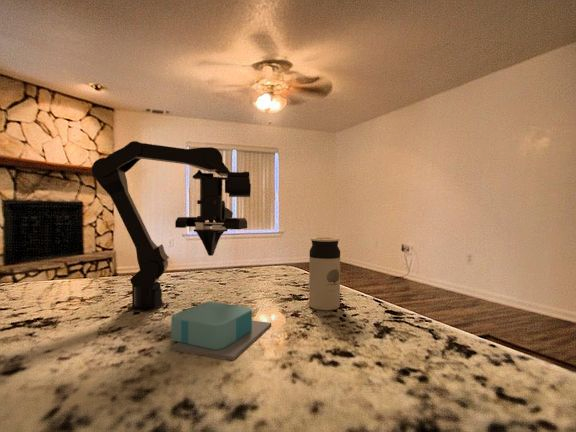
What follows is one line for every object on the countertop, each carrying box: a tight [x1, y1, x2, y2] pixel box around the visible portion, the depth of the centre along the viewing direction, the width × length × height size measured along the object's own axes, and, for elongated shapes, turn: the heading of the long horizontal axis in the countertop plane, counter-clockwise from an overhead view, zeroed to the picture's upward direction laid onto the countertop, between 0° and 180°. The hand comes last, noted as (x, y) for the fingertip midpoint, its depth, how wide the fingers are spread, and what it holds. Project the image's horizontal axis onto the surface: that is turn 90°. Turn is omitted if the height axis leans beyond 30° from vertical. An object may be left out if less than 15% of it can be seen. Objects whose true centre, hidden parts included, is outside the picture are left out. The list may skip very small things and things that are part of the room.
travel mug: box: [308, 236, 341, 312], centre depth 89 cm, size 8×8×18 cm
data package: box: [170, 301, 253, 350], centre depth 67 cm, size 12×4×12 cm
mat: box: [170, 320, 272, 361], centre depth 67 cm, size 12×18×1 cm
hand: (210, 255), depth 90 cm, fingers closed
